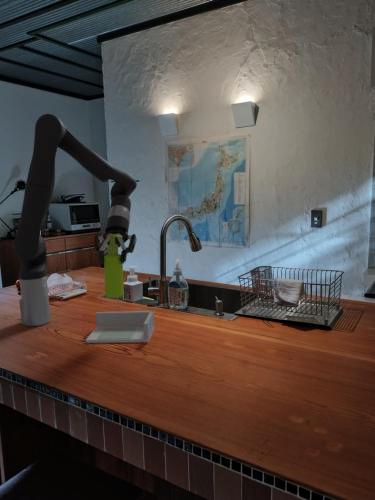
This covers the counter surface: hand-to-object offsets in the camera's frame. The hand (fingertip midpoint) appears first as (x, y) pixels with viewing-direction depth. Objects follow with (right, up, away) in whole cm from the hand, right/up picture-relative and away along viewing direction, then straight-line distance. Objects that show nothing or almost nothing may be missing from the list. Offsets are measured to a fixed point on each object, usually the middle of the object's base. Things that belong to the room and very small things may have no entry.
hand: (111, 262), depth 122 cm
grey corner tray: (+2, -24, +6) cm, 25 cm away
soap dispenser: (+1, -11, +4) cm, 12 cm away
